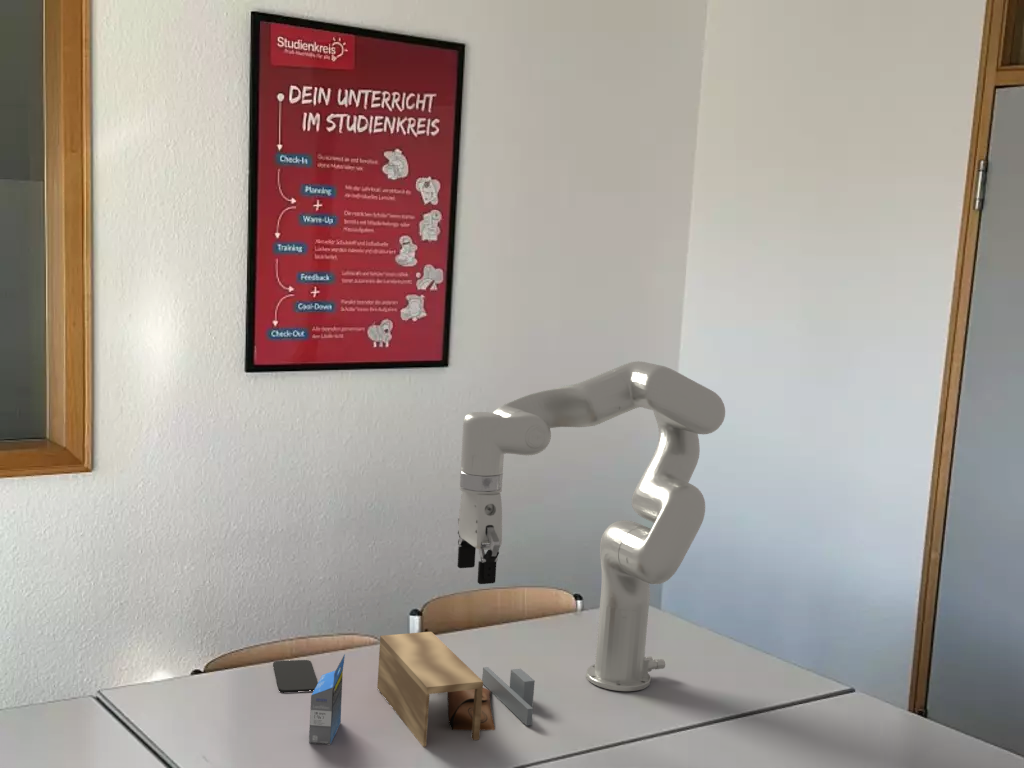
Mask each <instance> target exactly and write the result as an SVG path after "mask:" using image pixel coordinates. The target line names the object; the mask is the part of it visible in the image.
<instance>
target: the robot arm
mask: <svg viewBox="0 0 1024 768" xmlns="http://www.w3.org/2000/svg"><path fill="white" fill-rule="evenodd" d="M637 408H644V409H647V410H651V411H653V415H654V417H655V420H656V424H657V428H658V440H657V441H658V442H657V445H656V448H655V450H654V453H653V454H652V457H651V459H650V460H649V462H648V464H647V466H646V468H645V470H644V471H643V474H642V475H641V476H640V477H641V478H640V479H639V481H638V482H637V484H636V487H635V489H634V491H633V493H632V497H631V506H632V509H633V511H634V512H635V513H636V514H637V516H640V517H641V518H642V519H644V520H647V521H649V522H651V523H653V525H652V526H651V528H650V527H648V526H645V525H643V524H641V523H638V522H635V521H632V520H627V519H623V520H617V521H615V522H613V523H611V524H610V525H608V526H607V527H606V528H605V529H604V532H603V533H602V534H601V538H600V543H599V558H600V559H599V560H600V568H601V586H600V587H601V588H600V589H601V590H600V600H599V609H598V612H599V613H598V622H597V623H598V625H597V633H596V634H597V635H596V636H597V637H596V647H595V648H596V649H595V661H594V664H592V665H590V666H589V667H587V669H586V674H585V675H586V679H587V680H588V681H589V682H590V683H591V684H593V685H595V686H597V687H599V688H602V689H605V690H610V691H615V692H636V691H641V690H644V689H646V688H648V687H649V686H650V685H651V678H652V677H651V675H650V674H649V672H652V671H653V670H663V669H665V667H666V662H665V659H664V658H657V659H653V657H652V656H645V654H646V644H647V643H646V642H647V634H648V633H647V632H648V620H649V619H648V618H649V607H650V601H651V594H650V593H651V591H650V590H651V589H650V585H661V584H664V583H666V582H667V581H669V580H671V578H672V577H673V576H674V575H675V574H676V572H677V571H678V569H679V568H680V566H681V565H682V563H683V561H684V558H685V557H686V555H687V554H688V551H689V549H690V548H691V545H692V544H693V542H694V540H695V538H696V537H697V535H698V532H699V530H700V529H701V526H702V524H703V521H704V519H705V515H706V501H705V497H704V495H703V493H702V491H701V490H700V489H699V488H698V487H696V486H695V485H694V484H692V483H690V480H691V479H692V475H694V474H693V473H694V472H695V470H696V467H697V465H698V462H699V458H700V439H699V435H708V434H709V435H710V434H712V433H714V432H716V431H717V430H718V429H719V428H720V427H721V426H722V424H723V422H724V420H725V418H726V407H725V404H724V400H723V399H722V398H721V397H720V395H719V394H717V393H716V392H715V391H714V390H713V389H710V388H708V387H706V386H704V385H703V384H700V383H698V382H697V381H695V380H692V379H691V378H689V377H687V376H685V375H684V374H682V373H680V372H678V371H676V370H674V369H672V368H669V367H667V366H664V365H660V364H655V363H650V362H645V361H639V360H638V361H637V360H636V361H631V362H628V363H624V364H623V365H619V366H617V367H614V368H612V369H609V370H607V371H605V372H603V373H601V374H597V375H596V376H593V377H590V378H588V379H586V380H583V381H580V382H578V383H574V384H569V385H564V386H563V385H562V386H560V387H556V388H551V389H546V390H542V391H541V390H540V391H538V392H534V393H530V394H527V395H525V396H524V395H523V396H522V397H518V398H517V399H514V400H512V401H509V402H507V403H505V404H502V405H500V406H499V407H497V408H496V409H495V410H493V412H491V411H474V412H473V411H472V412H470V413H468V414H466V415H465V416H464V419H463V424H462V438H461V440H462V441H461V455H460V456H461V461H460V473H459V474H460V475H459V479H460V480H459V490H460V491H461V495H460V502H459V512H458V514H459V515H458V518H457V523H458V530H457V534H458V537H459V538H458V540H457V545H458V549H457V567H458V569H468V568H469V569H470V568H474V567H475V565H476V563H475V562H476V549H477V550H478V554H479V559H480V560H479V561H478V569H477V584H479V585H487V584H495V583H496V579H497V578H496V577H497V562H498V557H499V554H500V549H501V547H502V543H503V542H502V541H503V507H502V504H503V503H502V496H501V495H502V494H501V493H502V491H503V490H502V489H503V474H504V473H503V472H504V460H505V459H504V457H505V456H504V455H505V454H511V455H516V456H518V455H519V456H525V457H527V456H528V457H529V456H535V455H538V454H541V453H542V452H543V451H544V450H546V448H547V447H548V446H549V445H550V442H551V438H552V432H551V429H556V428H587V427H595V426H597V425H600V424H603V423H605V422H607V421H609V420H612V419H613V418H615V417H619V416H621V415H623V414H625V413H628V412H631V411H633V410H634V409H637ZM485 551H486V552H485Z"/></svg>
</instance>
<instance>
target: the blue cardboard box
mask: <svg viewBox="0 0 1024 768" xmlns="http://www.w3.org/2000/svg"><path fill="white" fill-rule="evenodd" d="M345 656H346V654H345V653H344V654H343V656H342V658H341V660H340V661H339V663H338V666H337V668H336V669H335V670H333V671H330V672H327V673H324V674H322V675H320V678H319V680H318V684H317V686H316V688H315V689H314V691H313V692H311V693H312V694H311V696H310V714H309V731H308V732H309V733H308V743H310V744H313V743H316V745H327V744H330V745H331V744H332V742H333V741H334V738H335V736H336V733H337V732H338V730H339V727H340V725H341V722H342V719H341V718H342V717H341V716H342V696H343V695H342V694H343V671H344V664H345V659H346V657H345Z"/></svg>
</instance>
